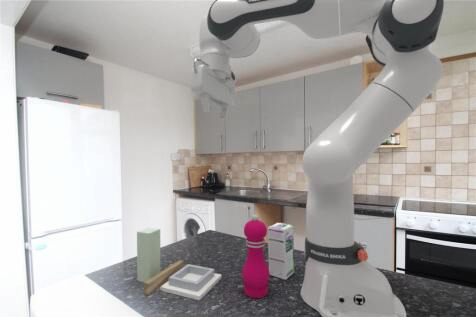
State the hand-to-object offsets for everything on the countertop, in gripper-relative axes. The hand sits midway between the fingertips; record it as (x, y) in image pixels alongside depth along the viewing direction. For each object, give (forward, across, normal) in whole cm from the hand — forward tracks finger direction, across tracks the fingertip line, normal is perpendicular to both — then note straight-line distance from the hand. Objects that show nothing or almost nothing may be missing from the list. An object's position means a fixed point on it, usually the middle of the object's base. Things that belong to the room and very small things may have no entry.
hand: (215, 115), depth 72 cm
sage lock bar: (+47, -7, +19) cm, 51 cm away
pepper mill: (+48, -1, -12) cm, 50 cm away
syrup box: (+48, +11, -15) cm, 51 cm away
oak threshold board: (+47, -6, +14) cm, 50 cm away
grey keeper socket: (+48, -5, +6) cm, 48 cm away
